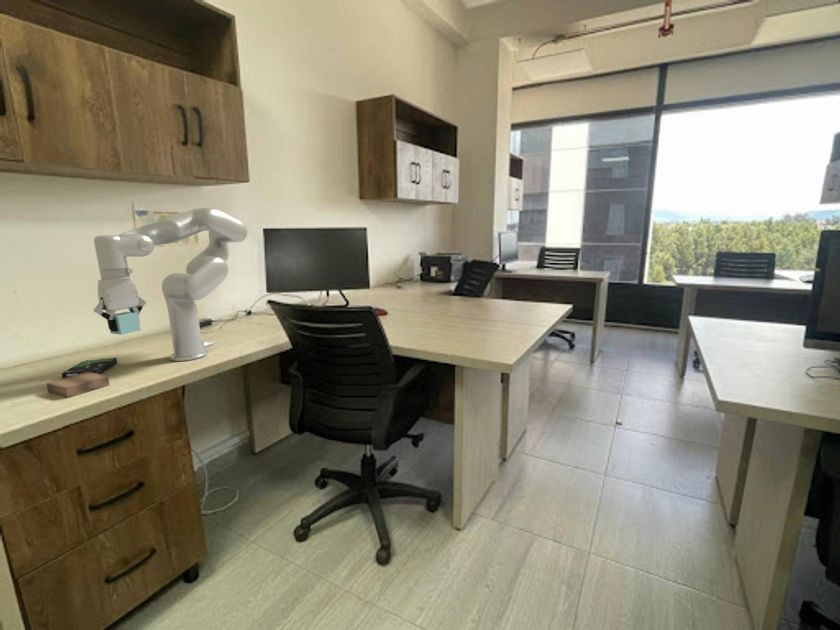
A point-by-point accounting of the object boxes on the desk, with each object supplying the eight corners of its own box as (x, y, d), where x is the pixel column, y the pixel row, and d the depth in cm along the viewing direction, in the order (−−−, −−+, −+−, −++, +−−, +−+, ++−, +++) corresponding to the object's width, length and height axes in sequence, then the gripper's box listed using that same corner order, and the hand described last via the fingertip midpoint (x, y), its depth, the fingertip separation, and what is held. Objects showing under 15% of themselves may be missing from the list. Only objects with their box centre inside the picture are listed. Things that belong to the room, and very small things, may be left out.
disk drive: (99, 378, 138) (118, 364, 152) (97, 370, 137) (116, 356, 151) (62, 381, 135) (84, 367, 149) (60, 373, 135) (83, 359, 149)
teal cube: (129, 329, 141) (126, 311, 140) (140, 330, 138) (137, 312, 137) (110, 333, 136) (107, 315, 134) (121, 334, 133) (117, 316, 132)
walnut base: (90, 380, 133) (88, 371, 133) (109, 385, 129) (108, 376, 128) (48, 392, 124) (46, 382, 123) (67, 398, 119) (65, 388, 118)
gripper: (135, 271, 142) (144, 322, 146) (77, 277, 127) (89, 334, 131) (149, 271, 139) (158, 323, 143) (91, 278, 124) (102, 336, 128)
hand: (125, 328), depth 137 cm, fingers closed on teal cube, 6 cm apart
